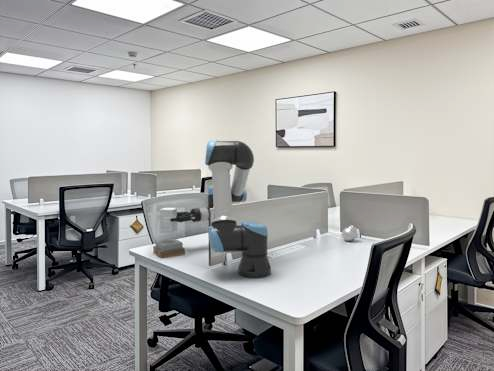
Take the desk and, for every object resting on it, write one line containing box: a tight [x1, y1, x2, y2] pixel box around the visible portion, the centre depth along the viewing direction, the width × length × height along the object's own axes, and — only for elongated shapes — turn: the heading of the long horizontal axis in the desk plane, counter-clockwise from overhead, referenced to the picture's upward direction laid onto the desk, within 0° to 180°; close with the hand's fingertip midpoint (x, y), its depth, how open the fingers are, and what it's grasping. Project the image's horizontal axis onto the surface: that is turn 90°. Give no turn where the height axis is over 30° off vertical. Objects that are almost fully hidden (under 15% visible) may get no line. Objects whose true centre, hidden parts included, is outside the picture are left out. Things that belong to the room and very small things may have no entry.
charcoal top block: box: [155, 238, 184, 251], centre depth 205 cm, size 11×11×3 cm
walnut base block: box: [152, 245, 186, 259], centre depth 205 cm, size 13×13×4 cm
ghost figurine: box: [341, 224, 359, 242], centre depth 233 cm, size 9×10×10 cm
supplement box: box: [158, 207, 178, 234], centre depth 204 cm, size 7×7×13 cm
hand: (160, 218), depth 201 cm, fingers closed on supplement box, 10 cm apart
